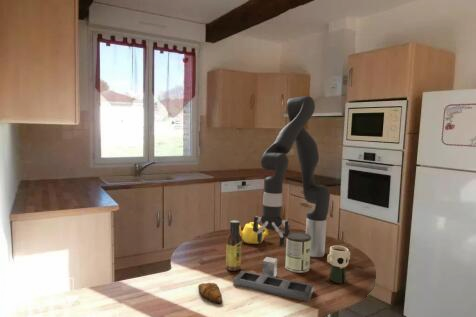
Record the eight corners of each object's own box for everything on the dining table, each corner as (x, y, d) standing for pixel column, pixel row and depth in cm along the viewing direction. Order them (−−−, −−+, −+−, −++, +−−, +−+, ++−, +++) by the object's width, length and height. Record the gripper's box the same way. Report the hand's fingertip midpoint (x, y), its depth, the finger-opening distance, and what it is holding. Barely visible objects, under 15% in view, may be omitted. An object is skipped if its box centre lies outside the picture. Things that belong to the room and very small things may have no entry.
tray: (241, 276, 131) (241, 270, 131) (313, 291, 121) (313, 285, 121) (233, 285, 124) (233, 278, 124) (309, 301, 113) (309, 294, 113)
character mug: (332, 286, 125) (334, 253, 124) (320, 279, 132) (322, 246, 131) (354, 282, 130) (356, 250, 129) (342, 275, 136) (344, 244, 135)
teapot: (234, 241, 174) (234, 222, 173) (250, 235, 184) (250, 217, 184) (255, 247, 165) (255, 228, 165) (270, 241, 176) (271, 222, 175)
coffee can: (287, 261, 149) (288, 230, 148) (310, 265, 145) (312, 233, 144) (282, 270, 139) (284, 237, 138) (307, 274, 136) (309, 240, 135)
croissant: (229, 302, 112) (229, 288, 112) (212, 308, 108) (212, 293, 108) (207, 286, 123) (208, 273, 122) (191, 291, 119) (192, 277, 118)
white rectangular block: (265, 273, 135) (266, 256, 135) (276, 275, 134) (277, 258, 133) (262, 278, 131) (262, 260, 130) (273, 280, 129) (274, 262, 129)
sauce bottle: (239, 272, 135) (240, 224, 134) (224, 270, 137) (225, 223, 135) (242, 266, 142) (243, 220, 140) (227, 264, 143) (229, 218, 141)
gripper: (292, 204, 131) (290, 244, 132) (258, 200, 136) (256, 239, 137) (288, 207, 124) (285, 250, 125) (251, 203, 129) (250, 244, 130)
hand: (270, 244), depth 131 cm, fingers open, 8 cm apart
